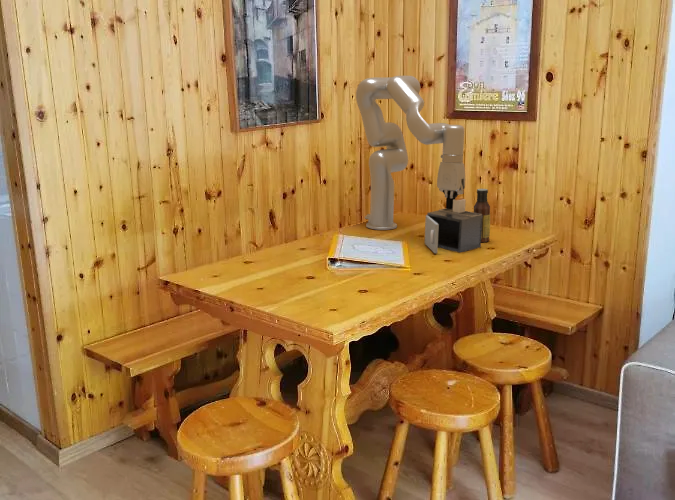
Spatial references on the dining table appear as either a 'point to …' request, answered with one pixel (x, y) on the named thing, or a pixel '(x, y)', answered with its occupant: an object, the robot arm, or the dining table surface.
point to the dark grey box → (458, 229)
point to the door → (431, 234)
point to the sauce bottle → (483, 213)
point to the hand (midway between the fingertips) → (450, 208)
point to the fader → (459, 205)
